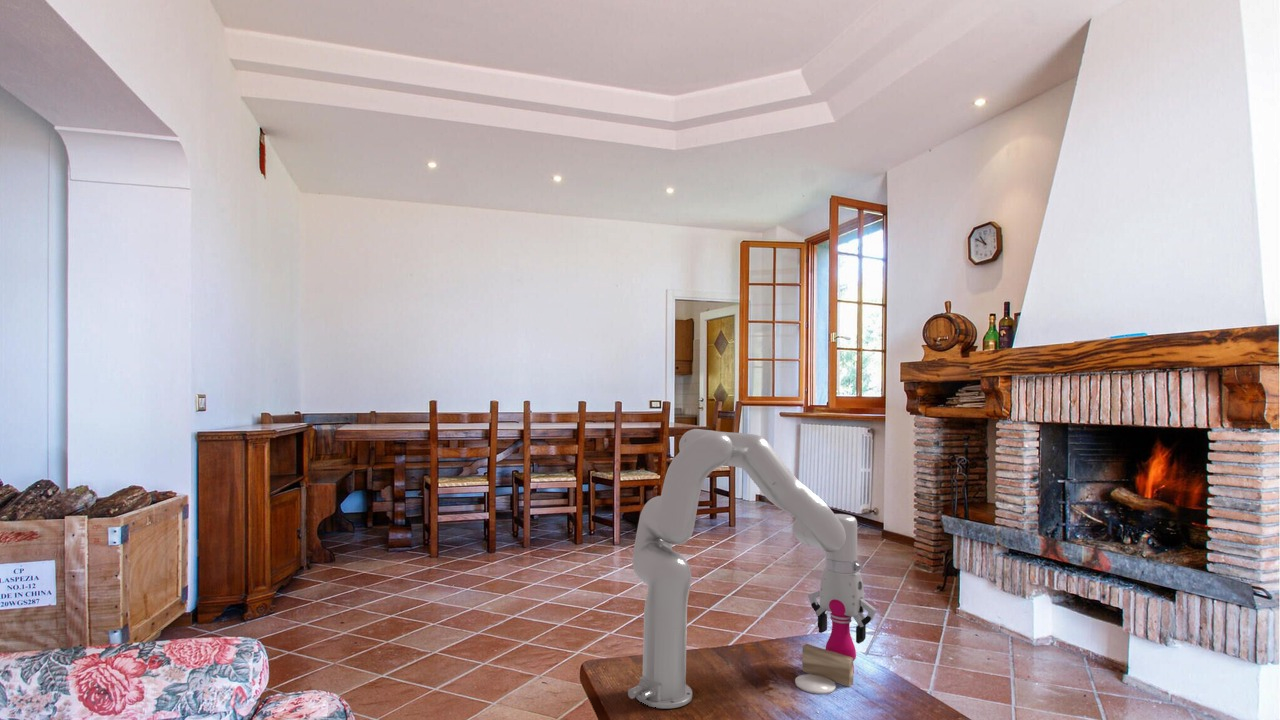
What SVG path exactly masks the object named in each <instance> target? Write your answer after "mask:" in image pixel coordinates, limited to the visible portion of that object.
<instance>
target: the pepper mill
mask: <svg viewBox="0 0 1280 720" xmlns="http://www.w3.org/2000/svg"><path fill="white" fill-rule="evenodd" d="M829 609H830V610H831V612H829V615H830V617H829V618H830V620H831V624H832V625H831V631H830V634H829V638H828V640H827V641H826V645H825V648H824V649H825V650H829V651H832V652H835V653H839V654H842V655H845V656H849V657H852V658H853V662H854V661H855V660H856V659H857V658H856V657H857V650H856V646H855V644H854V641H853V638H852V636H851V635H852V634H851V631H850V630H851V629H850V626H851V625H850V624H851V622H852V617H850V616H846V615H844V613H845V606H844V604H843V603H842V602H841V601H839V600H836V599H833V600H831V601H830V602H829ZM854 673H855V665H854V664H853V674H854Z"/></svg>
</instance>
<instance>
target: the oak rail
mask: <svg viewBox="0 0 1280 720" xmlns="http://www.w3.org/2000/svg"><path fill="white" fill-rule="evenodd" d="M825 649H826V648H822V647H819V646H815V645H811V644H808V643H806V644H803V645H802V664H801V665H802V666H801V669H802V672H804V673H805V674H806V673H807V674H812V675H819V676H823V677H826V678H828V679H830V680H832V681H833V682H834V683H835V684H836V683H837V684H839V685H843V686H846V687H848V688H849V687H852V686H853V685H854V673H853V665H854V661H853V658H852V657H849V656H845V655H842V654H839V653H835V652H832V651H829V650H825Z"/></svg>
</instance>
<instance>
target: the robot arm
mask: <svg viewBox="0 0 1280 720" xmlns="http://www.w3.org/2000/svg"><path fill="white" fill-rule="evenodd" d="M678 449H679V452H678V453H677V454H676V456H674V457H673V458H672V461H671V462H670V464H669V465H668V468H667V471H666V473H665V478H664V481H663V485H662V489H661V495H657V496H654V497H652V498H651V499H649V500H647V502H646V503H645V504H644V506H643V508H642V509H641V512H640V515H639V519H638V523H637V530H636V534H635V541H634V546H633V551H632V568H633V571H634V573H635V575H636V576H637V578H638V579H639V580H640V581H641V582H643V583H644V584H646V585H647V594H646V597H645V602H644V610H643V636H642V637H643V639H642V640H643V644H642V646H643V647H642V676H640V677H639V683H637V685H636V686H634V687H630V688H629V689H628V690H627V695H628V698H630V699H632V700H633V699H635V698H636V700H638V701H639V702H640V703H641V702H642V703H641V704H643V703H644V704H643V705H645V704H646V705H645V706H647V705H648V707H651V708H655V707H656V708H655V709H664V710H665V709H667V710H669V709H670V710H671V709H677V708H680V707H683V706H686V705H687V704H689V703H690V702H691V701H692V699H693V690H692V688H691V687H690V686H689V685H688V684H686V683H687V682H686V679H687V677H686V676H687V636H688V635H687V633H688V632H687V630H688V629H687V628H688V626H687V625H688V624H687V619H688V602H689V595H690V590H691V585H692V571H691V567H690V565H689V562H688V561H687V560H686V558H685V557H684V556H683V555H681V553H679V552H677V551H676V550H674V549H673V546H674V545H676V546H679V545H683V544H685V543H687V542H688V541H689V540H690V539H691V537H692V535H693V534H694V529H695V523H696V519H697V511H698V506H699V501H700V495H701V491H702V487H703V485H704V482H705V481H706V479H707V477H708V476H710V474H711V473H712V472H713V471H714V470H716V469H718V468H720V467H735V468H740V469H742V470H744V471H745V473H746V474H747V475H748V477H749V478H750V479H751V481H753V483H754V484H755V485H756V487H758V489H759V490H760V492H761V493H762V494H763V496H765V498H766V499H767V500H768V501H769V502H770V503H771V504H773V505H774V506H775V507H777V508H779V509H780V510H782V511H784V512H786V513H788V514H790V515H791V516H793V518H795V519H794V522H793V523H792V533H793V536H794V537H795V538H796V540H798V541H799V542H800V543H802V544H804V545H806V546H809V547H811V548H815V549H817V550H820V551H822V552H825V568H822V569H823V570H822V573H821V579H820V584H819V585H820V586H819V590H818V591H816V592H811V593H810V594H808V595H807V598H808V600H809V603H810V606H811V607H812V610H814V612H815V616H817V628H818V633H819V634H822V633H824V632H826V631H827V630H828V614H827V613H826V612H829V613H831V610H830V609H829V602H830V601H831V600H833V599H836V600H839V601H841V602H842V603H843V604H844V606H845V613H844V615H846V616H850V617H851V618H853V619H854V620H855V622H856V623H857V625H856V627H855V643H856V644H858V645H859V644H861V643H863V642H864V641H865V639H866V637H867V634H866V633H867V631H866V630H867V626H866V625H868V624H869V623H870V622H871V621H873V619H874V617H875V616H876V613H877V612H878V611H877V609H876V608H875V607H874V606H873V605H871V604H870V603H869V602H867V601H866V599H865V591H864V590H865V589H864V582H863V579H862V573H861V572H859V571H862V570H863V565H862V564H860V563H859V559H858V521H857V518H856V517H855V516H853V515H851V514H844V513H834V511H833V510H832V509H831V508H830V507H829V505H827V503H825V501H823V500H822V499H821V498H820V497H819V496H818V495H816V493H814V492H813V491H812V490H811V489H810V488H809V487H807V485H806V484H804V483H803V482H801V480H799V479H798V478H797V477H796V476H795V474H794V473H793V472H792V471H791V470H790V468H789V467H788V466H787V465H786V464H785V462H784V461H783V459H782V458H781V457H780V456H779V454H778V453H777V452H776V450H775V449H774V448H773V446H771V443H769V442H768V440H767V439H765V438H764V437H762V436H760V435H758V434H754V433H753V434H752V433H745V432H731V431H730V432H727V431H719V430H718V431H717V430H710V429H701V428H693V429H690V430H688V431H686V432H685V433H683V435H682V436H681V438H680V439H679V444H678ZM817 598H819V602H818V601H817ZM865 611H867V614H866V616H865V615H864V614H863V613H865Z"/></svg>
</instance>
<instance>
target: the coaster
mask: <svg viewBox="0 0 1280 720" xmlns="http://www.w3.org/2000/svg"><path fill="white" fill-rule="evenodd" d="M794 681H795V682H794V684H795V686H796V687H797V688H799V689H800V690H802V691H804V692H807V693H810V694H815V695H817V694H818V695H827V694H831V693H834V692H835V691H836V682H833V681H832V680H830V679H828V678H826V677H823V676H819V675H812V674H809V673H807V674H806V673H805V674H802V675H798V676H797V677H795V680H794Z"/></svg>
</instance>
